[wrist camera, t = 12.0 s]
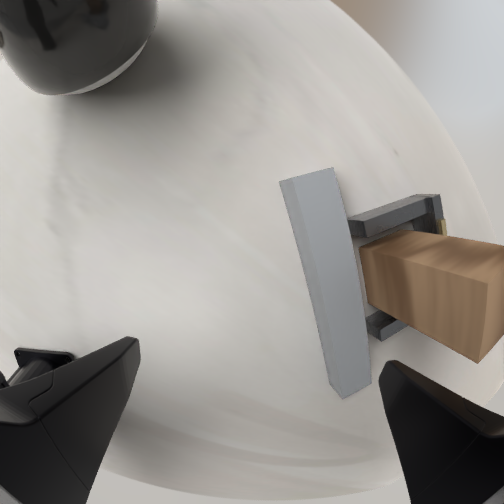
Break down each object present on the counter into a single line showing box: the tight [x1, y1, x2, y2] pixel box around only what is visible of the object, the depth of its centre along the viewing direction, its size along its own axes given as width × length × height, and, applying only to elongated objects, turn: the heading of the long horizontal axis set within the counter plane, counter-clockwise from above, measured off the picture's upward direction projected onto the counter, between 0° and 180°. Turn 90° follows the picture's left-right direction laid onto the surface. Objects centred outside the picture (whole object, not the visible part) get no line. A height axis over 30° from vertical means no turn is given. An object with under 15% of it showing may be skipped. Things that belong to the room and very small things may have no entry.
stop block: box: [359, 229, 504, 364], centre depth 16 cm, size 5×5×12 cm
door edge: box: [279, 167, 372, 399], centre depth 19 cm, size 3×18×2 cm, turn 17°
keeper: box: [347, 194, 447, 342], centre depth 20 cm, size 8×10×3 cm
